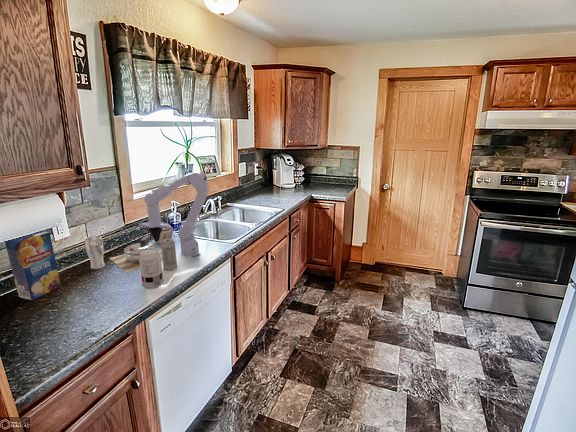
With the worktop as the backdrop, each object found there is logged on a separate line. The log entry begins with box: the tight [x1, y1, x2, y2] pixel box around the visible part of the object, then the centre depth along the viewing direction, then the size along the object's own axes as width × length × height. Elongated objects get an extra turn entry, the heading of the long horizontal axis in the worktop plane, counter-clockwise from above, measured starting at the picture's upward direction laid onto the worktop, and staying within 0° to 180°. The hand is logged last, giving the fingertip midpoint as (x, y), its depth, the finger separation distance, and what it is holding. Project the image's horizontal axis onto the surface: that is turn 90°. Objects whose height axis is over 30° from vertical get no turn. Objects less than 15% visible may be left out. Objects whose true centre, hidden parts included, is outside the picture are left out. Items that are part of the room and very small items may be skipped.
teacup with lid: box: [156, 221, 174, 244], centre depth 188 cm, size 12×9×12 cm
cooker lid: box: [123, 234, 155, 255], centre depth 165 cm, size 19×14×3 cm
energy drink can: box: [160, 237, 178, 272], centre depth 151 cm, size 6×6×15 cm
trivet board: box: [109, 247, 163, 273], centre depth 164 cm, size 22×22×1 cm
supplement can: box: [139, 248, 164, 290], centre depth 138 cm, size 8×8×15 cm
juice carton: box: [4, 230, 62, 301], centre depth 131 cm, size 12×8×24 cm, turn 161°
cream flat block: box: [124, 252, 139, 264], centre depth 164 cm, size 20×13×4 cm, turn 36°
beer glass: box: [84, 235, 106, 270], centre depth 153 cm, size 7×7×15 cm
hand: (157, 241), depth 170 cm, fingers closed
